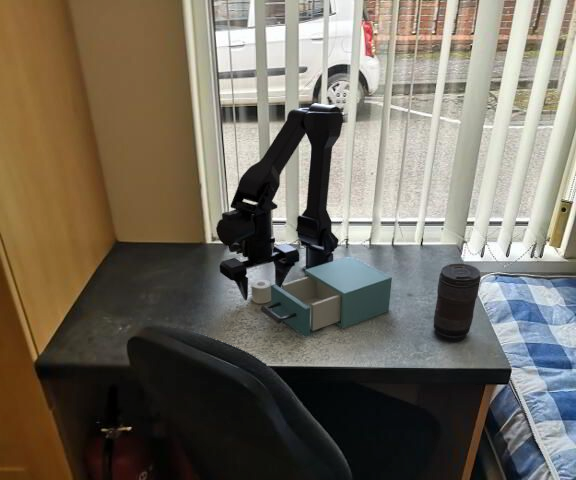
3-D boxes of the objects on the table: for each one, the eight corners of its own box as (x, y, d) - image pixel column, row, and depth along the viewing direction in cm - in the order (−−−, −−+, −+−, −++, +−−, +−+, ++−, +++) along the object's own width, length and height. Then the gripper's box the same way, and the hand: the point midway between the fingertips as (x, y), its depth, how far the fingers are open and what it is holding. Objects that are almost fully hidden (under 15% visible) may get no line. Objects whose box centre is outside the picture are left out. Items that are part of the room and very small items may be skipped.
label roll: (247, 300, 138) (246, 284, 135) (260, 292, 141) (259, 277, 139) (263, 305, 136) (262, 290, 133) (275, 297, 139) (275, 282, 136)
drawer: (286, 344, 120) (285, 315, 116) (253, 318, 129) (251, 291, 125) (350, 320, 128) (352, 292, 124) (315, 297, 137) (315, 271, 133)
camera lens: (426, 326, 127) (435, 263, 118) (461, 324, 127) (473, 261, 118) (436, 345, 120) (447, 280, 111) (474, 343, 121) (488, 278, 112)
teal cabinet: (342, 328, 126) (344, 293, 121) (304, 303, 136) (304, 269, 131) (388, 311, 133) (392, 277, 127) (348, 288, 142) (350, 255, 137)
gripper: (274, 213, 138) (276, 273, 147) (205, 230, 130) (211, 292, 139) (300, 227, 130) (300, 289, 140) (229, 245, 122) (234, 310, 131)
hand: (261, 294), depth 138 cm, fingers open, 9 cm apart
